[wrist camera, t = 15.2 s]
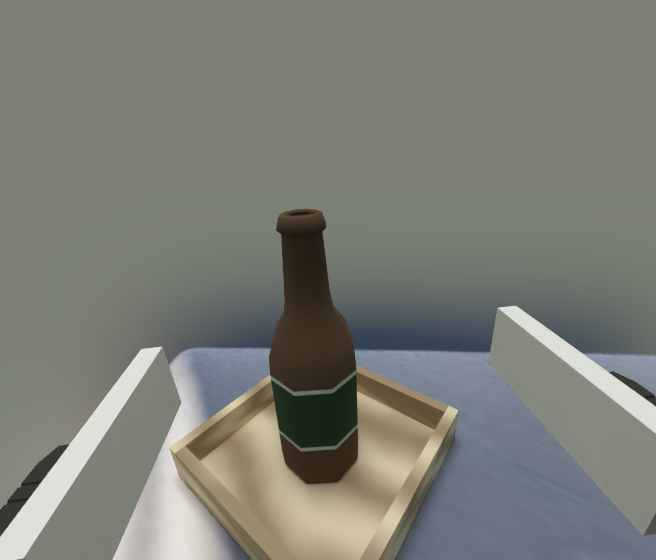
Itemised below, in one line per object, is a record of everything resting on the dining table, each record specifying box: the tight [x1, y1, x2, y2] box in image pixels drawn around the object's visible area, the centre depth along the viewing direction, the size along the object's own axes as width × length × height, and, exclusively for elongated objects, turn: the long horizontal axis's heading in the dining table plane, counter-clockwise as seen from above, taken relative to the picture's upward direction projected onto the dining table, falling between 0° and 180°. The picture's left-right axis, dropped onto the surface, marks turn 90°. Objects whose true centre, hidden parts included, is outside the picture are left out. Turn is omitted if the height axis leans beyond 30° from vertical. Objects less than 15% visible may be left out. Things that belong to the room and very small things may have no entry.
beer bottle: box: [269, 209, 358, 483], centre depth 27 cm, size 8×8×24 cm
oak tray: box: [170, 365, 459, 560], centre depth 31 cm, size 20×20×4 cm
